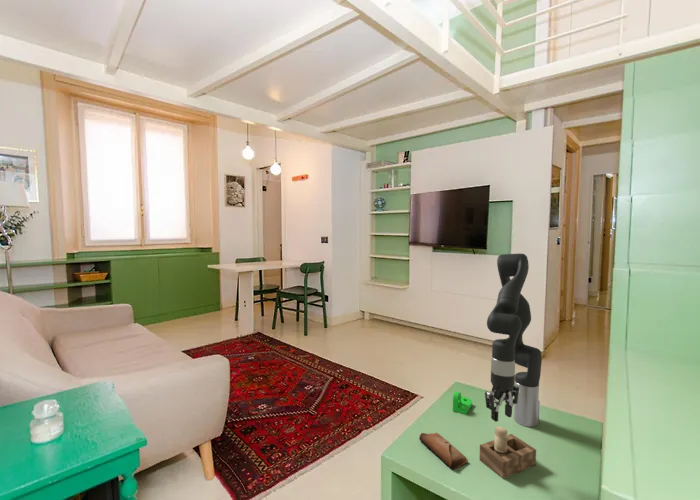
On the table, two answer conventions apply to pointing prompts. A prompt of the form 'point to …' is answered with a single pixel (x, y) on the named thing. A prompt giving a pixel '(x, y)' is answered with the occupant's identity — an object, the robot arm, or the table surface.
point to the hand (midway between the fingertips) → (501, 418)
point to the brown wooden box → (508, 457)
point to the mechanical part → (461, 403)
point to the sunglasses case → (443, 450)
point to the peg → (500, 441)
